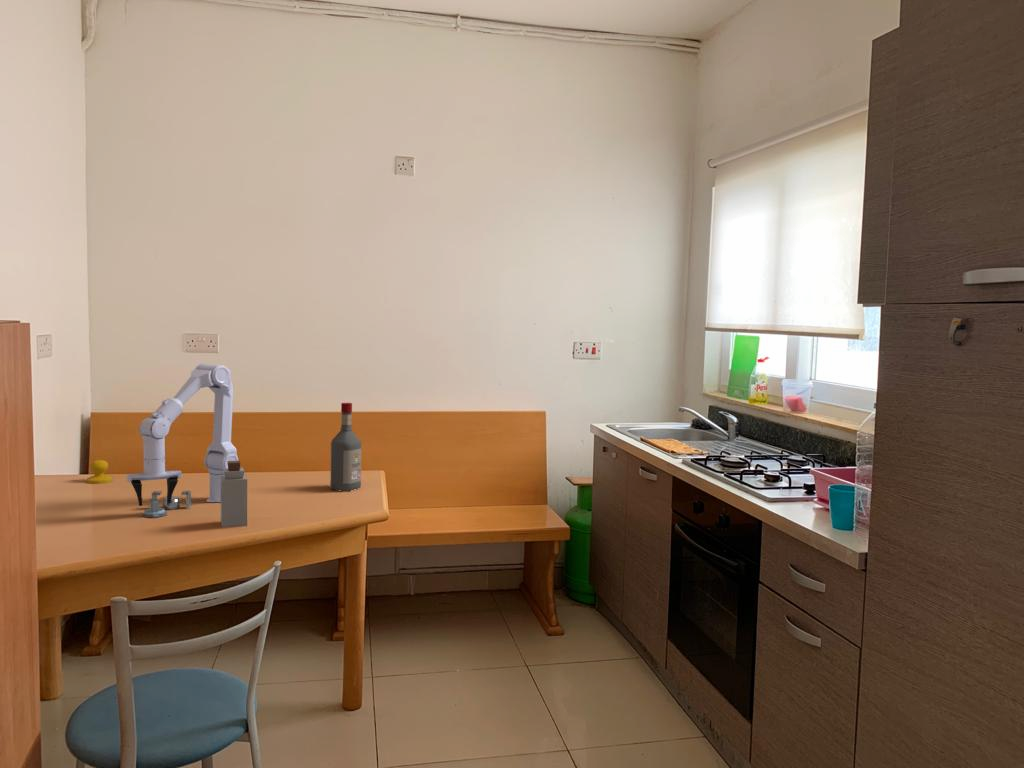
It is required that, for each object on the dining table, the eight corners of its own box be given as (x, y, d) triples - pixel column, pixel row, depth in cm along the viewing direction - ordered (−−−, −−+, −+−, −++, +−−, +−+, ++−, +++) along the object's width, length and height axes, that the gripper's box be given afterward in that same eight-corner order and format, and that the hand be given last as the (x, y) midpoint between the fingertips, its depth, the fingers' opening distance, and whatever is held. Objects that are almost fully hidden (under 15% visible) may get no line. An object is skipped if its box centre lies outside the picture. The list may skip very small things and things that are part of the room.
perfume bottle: (220, 521, 228) (220, 460, 227) (245, 519, 231) (245, 459, 229) (221, 527, 222) (221, 464, 220) (247, 525, 225) (247, 463, 223)
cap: (166, 515, 231) (166, 502, 231) (145, 517, 229) (145, 504, 228) (162, 509, 238) (162, 496, 238) (142, 511, 235) (142, 498, 235)
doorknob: (117, 480, 277) (96, 484, 270) (102, 478, 280) (81, 482, 273) (117, 459, 276) (96, 463, 269) (101, 457, 280) (81, 460, 273)
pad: (170, 511, 238) (170, 510, 238) (164, 517, 231) (164, 516, 231) (145, 511, 236) (145, 510, 236) (138, 517, 229) (138, 516, 229)
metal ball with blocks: (191, 505, 245) (191, 489, 245) (188, 509, 240) (188, 493, 240) (154, 506, 243) (154, 490, 243) (150, 510, 238) (150, 494, 238)
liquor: (364, 487, 278) (365, 403, 275) (347, 492, 269) (348, 405, 267) (343, 484, 282) (344, 401, 279) (326, 489, 274) (327, 403, 271)
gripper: (178, 454, 239) (178, 498, 240) (125, 457, 232) (126, 503, 233) (182, 458, 233) (182, 503, 234) (128, 462, 226) (128, 508, 227)
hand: (154, 503), depth 233 cm, fingers open, 7 cm apart
